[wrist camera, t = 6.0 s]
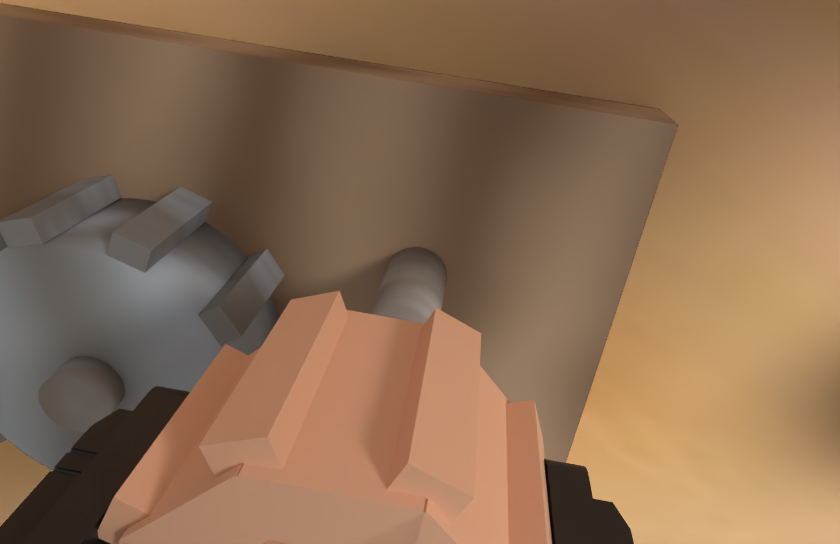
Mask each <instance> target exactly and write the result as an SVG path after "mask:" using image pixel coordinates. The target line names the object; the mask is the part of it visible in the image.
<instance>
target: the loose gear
mask: <svg viewBox="0 0 840 544" xmlns="http://www.w3.org/2000/svg"><path fill="white" fill-rule="evenodd" d="M480 352H481V333H480V332H478V331H476V330H474V329H473V328H471V327H469V326H467V325H466V324H464V323H462V322H460V321H459V320H457V319H455V318H453V317H452V316H450V315H448V314H446V313H445V312H443V311H441V310H439V309H438V308H436V309H435V310H434V311H433V313H432V314H431V316H430V317H429V318H428V320H427V321H426V323H425V324H424V323H418V322H412V321H407V320H401V319H395V318H390V317H384V316H379V315H373V314H367V313H362V312H356V311H350V310H346V307H345V305H344V302H343V299H342V296H341V293H340V291H335V292H330V293H324V294H319V295H313V296H308V297H302V298H297V299H292V300H290V302H289V303H288V305H287V306H286V308H285V310H284V311H283V313H282V314H281V316H280V318H279V319H278V321H277V322H276V324H275V326H274V327H273V329H272V330H271V332H270V333H269V335H268V337H267V338H266V340H265V341H264V343H263V345H262V346H261V347H260V348H259V349H257V350H256V351H254V352H253V353H251V354H250V355H246V354H244V353H242V352H240V351H238V350H236V349H235V348H233V347H231V346H229V345H227V344H225V345H224V347H223V348H222V349H221V351H220V352H219V354H218V355H217V356H216V358H215V359H214V360H213V362H212V363H211V364H210V366H209V367H208V369H207V370H206V371H205V373H204V374H203V375H202V377H201V378H200V380H199V381H198V382H197V384H196V385H195V386H194V388H193V389H192V391H191V392H190V393H189V395H188V396H187V397H186V399H185V400H184V401H183V403H182V404H181V406H180V407H179V408H178V410H177V411H176V412H175V414H174V415H173V417H172V418H171V419H170V421H169V422H168V423H167V425H166V426H165V427H164V429H163V430H162V432H161V433H160V434H159V436H158V437H157V438H156V440H155V441H154V443H153V444H152V445H151V447H150V448H149V449H148V451H147V452H146V453H145V455H144V456H143V458H142V459H141V460H140V462H139V463H138V464H137V466H136V467H135V469H134V470H133V471H132V473H131V474H130V475H129V477H128V478H127V479H126V481H125V482H124V484H123V485H122V486H121V488H120V489H119V490H118V492H117V493H116V495H115V496H114V497H113V499H112V501H111V503H110V506H109V508H108V510H107V512H106V514H105V516H104V518H103V520H102V522H101V524H100V527H99V529H98V531H97V532H98V538H99V539H102V540H104V541H106V542H108V543H110V544H553V542H552V532H551V522H550V512H549V502H548V491H547V481H546V471H545V461H544V459H545V455H544V445H543V437H542V432H541V428H540V423H539V419H538V414H537V410H536V405H535V401H534V400H529V401H521V402H514V403H510V401H509V400H508V399H507V398H506V396H505V395H504V394H503V393H502V392H501V390H500V389H499V388H498V387H497V385H496V384H495V383H494V382H493V381H492V379H491V378H490V377H489V376H488V374H487V373H486V372H485V371H484V370H483V368H482V367H481V366H480Z"/></svg>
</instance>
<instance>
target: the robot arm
mask: <svg viewBox="0 0 840 544" xmlns="http://www.w3.org/2000/svg"><path fill="white" fill-rule="evenodd" d="M189 393H190V392H188V391H183V390H178V389H172V388H167V387H161V386H155V387H153V388H152V389H151V390H150V391H149V392H148V393H147V394H146V396H145V397H144V398H143V399H142V400H141V402H140V403H139V404H138V405H137V406H136V408H135V409H134V410H133V411H131V410H125V409H120V408H119V409H118V410H116V411H114V412H113V413H111V414H110V415H108V416H106V417H105V418H103V419H101V420H100V421H98V422H96V423H95V424H93V425H91V426H90V428H89V429H88V430H87V431H86V432H85V433H84V434H83V435H82V436H81V438H80V439H79V440H78V441H77V442H76V443H75V444H74V445H73V446H72V448H71V451H70V453H68V452H67V453H66V454H65V455H64V457H63V458H62V459H61V460H60V461H59V462H58V463H57V464H56V465H55V468H54V470H53V472H51V471H50V472H49V473H48V474H47V475H46V477H45V478H44V479H43V480H42V481H41V482H40V483H39V484H38V485H37V487H36V488H35V489H34V490H33V491H32V492H31V493H30V494H29V496H28V497H27V498H26V499H25V500H24V501H23V502H22V503H21V504H20V506H19V507H18V508H17V509H16V510H15V511H14V512H13V513H12V514H11V516H10V517H9V518H8V519H7V520H6V521H5V522H4V523H3V525H2V526H1V527H0V544H110V543H108V542H106V541H104V540H102V539H99V538H98V532H97V531H98V529H99V527H100V524H101V522H102V520H103V518H104V516H105V514H106V512H107V510H108V508H109V506H110V503H111V501H112V499H113V497H114V496H115V495H116V493H117V492H118V490H119V489H120V488H121V486H122V485H123V484H124V482H125V481H126V479H127V478H128V477H129V475H130V474H131V473H132V471H133V470H134V469H135V467H136V466H137V464H138V463H139V462H140V460H141V459H142V458H143V456H144V455H145V453H146V452H147V451H148V449H149V448H150V447H151V445H152V444H153V443H154V441H155V440H156V438H157V437H158V436H159V434H160V433H161V432H162V430H163V429H164V427H165V426H166V425H167V423H168V422H169V421H170V419H171V418H172V417H173V415H174V414H175V412H176V411H177V410H178V408H179V407H180V406H181V404H182V403H183V401H184V400H185V399H186V397H187V396H188V395H189ZM544 461H545V471H546V481H547V491H548V502H549V512H550V522H551V532H552V542H553V544H634V542H633V538H632V534H631V530H630V528H629V526H628V525H627V523H626V522H625V520H624V519H623V517H622V516H621V514H620V513H619V511H618V510H617V508H616V507H615V505H614V504H613V502H607V501H602V500H597V499H593V498H592V492H591V487H590V481H589V476H588V471H587V469H586V467H584V466H580V465H574V464H569V463H564V462H558V461H553V460H548V459H544Z"/></svg>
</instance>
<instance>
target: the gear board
mask: <svg viewBox="0 0 840 544" xmlns="http://www.w3.org/2000/svg"><path fill="white" fill-rule="evenodd" d="M677 127H678V124H676V123H675V122H674V121H673V120H672V119H671V118H669V117H668V116H667V115H666V114H665V113H663V112H662V111H661V110H660V109H656V108H650V107H644V106H637V105H631V104H625V103H619V102H612V101H606V100H600V99H594V98H588V97H581V96H575V95H569V94H563V93H556V92H550V91H544V90H538V89H531V88H525V87H519V86H513V85H506V84H500V83H494V82H488V81H482V80H475V79H469V78H463V77H457V76H450V75H444V74H438V73H432V72H425V71H419V70H413V69H407V68H400V67H394V66H388V65H382V64H376V63H369V62H363V61H357V60H351V59H344V58H338V57H332V56H326V55H319V54H313V53H307V52H301V51H294V50H288V49H282V48H276V47H270V46H263V45H257V44H251V43H245V42H238V41H232V40H226V39H220V38H213V37H207V36H201V35H195V34H188V33H182V32H176V31H170V30H164V29H157V28H151V27H145V26H139V25H132V24H126V23H120V22H114V21H107V20H101V19H95V18H89V17H83V16H76V15H70V14H64V13H58V12H51V11H45V10H39V9H33V8H26V7H20V6H14V5H8V4H1V3H0V442H2V441H4V440H6V439H7V440H8V441H10V442H11V443H12V444H13V445H14V446H16V447H17V448H18V449H20V450H21V451H22V452H24V453H25V454H26V455H28V456H30V457H31V458H33V459H34V460H36V461H37V462H39V463H40V464H42V465H44V466H46V467H48V468H50V469H51V470H54V468H55V465H56V464H57V463H58V462H59V461H60V460H61V459H62V458H63V457H64V455H65V454H66V453H67V452H68V453H70V451H71V448H72V446H73V445H74V444H75V443H76V442H77V441H78V440H79V439H80V438H81V436H82V435H83V434H84V433H85V432H86V431H87V430H88V429H89V428H90V426H91V425H93V424H95V423H96V422H98V421H100V420H101V419H103V418H105V417H106V416H108V415H110V414H111V413H113V412H114V411H116V410H118V409H119V408H120V409H125V410H131V411H133V410H134V409H135V408H136V406H137V405H138V404H139V403H140V402H141V400H142V399H143V398H144V397H145V396H146V394H147V393H148V392H149V391H150V390H151V389H152V388H153V387H155V386H161V387H167V388H172V389H178V390H183V391H188V392H191V391H192V389H193V388H194V386H195V385H196V384H197V382H198V381H199V380H200V378H201V377H202V375H203V374H204V373H205V371H206V370H207V369H208V367H209V366H210V364H211V363H212V362H213V360H214V359H215V358H216V356H217V355H218V354H219V352H220V351H221V349H222V348H223V347H224V345H225V344H227V345H229V346H231V347H233V348H235V349H236V350H238V351H240V352H242V353H244V354H246V355H250V354H251V353H253V352H254V351H256V350H257V349H259V348H260V347H261V346H262V345H263V343H264V341H265V340H266V338H267V337H268V335H269V333H270V332H271V330H272V329H273V327H274V326H275V324H276V322H277V321H278V319H279V318H280V316H281V314H282V313H283V311H284V310H285V308H286V306H287V305H288V303H289V302H290V300H292V299H297V298H302V297H308V296H313V295H319V294H324V293H330V292H335V291H340V293H341V296H342V299H343V302H344V305H345V307H346V310H350V311H356V312H362V313H367V314H373V315H379V316H384V317H390V318H395V319H401V320H407V321H412V322H418V323H424V324H425V323H426V321H427V320H428V318H429V317H430V316H431V314H432V313H433V311H434V310H435V309H436V308H438V309H439V310H441V311H443V312H445V313H446V314H448V315H450V316H452V317H453V318H455V319H457V320H459V321H460V322H462V323H464V324H466V325H467V326H469V327H471V328H473V329H474V330H476V331H478V332H480V333H481V352H480V366H481V367H482V368H483V370H484V371H485V372H486V373H487V374H488V376H489V377H490V378H491V379H492V381H493V382H494V383H495V384H496V385H497V387H498V388H499V389H500V390H501V392H502V393H503V394H504V395H505V396H506V398H507V399H508V400H509V401H510V403H514V402H521V401H529V400H534V401H535V405H536V410H537V414H538V419H539V423H540V428H541V432H542V437H543V445H544V455H545V459H548V460H553V461H558V462H564V463H566V460H567V457H568V454H569V451H570V448H571V445H572V442H573V439H574V436H575V433H576V430H577V427H578V424H579V421H580V418H581V415H582V412H583V409H584V406H585V403H586V400H587V397H588V394H589V391H590V388H591V385H592V382H593V379H594V376H595V373H596V370H597V367H598V364H599V361H600V358H601V355H602V352H603V349H604V346H605V343H606V340H607V337H608V334H609V331H610V328H611V325H612V322H613V319H614V316H615V313H616V310H617V307H618V304H619V301H620V298H621V295H622V292H623V289H624V286H625V283H626V280H627V277H628V274H629V271H630V268H631V265H632V262H633V259H634V256H635V253H636V250H637V247H638V244H639V241H640V238H641V235H642V232H643V229H644V226H645V223H646V220H647V217H648V214H649V211H650V208H651V205H652V202H653V199H654V196H655V193H656V190H657V187H658V184H659V181H660V178H661V175H662V172H663V169H664V166H665V163H666V160H667V157H668V154H669V151H670V148H671V145H672V142H673V139H674V136H675V133H676V130H677Z"/></svg>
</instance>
